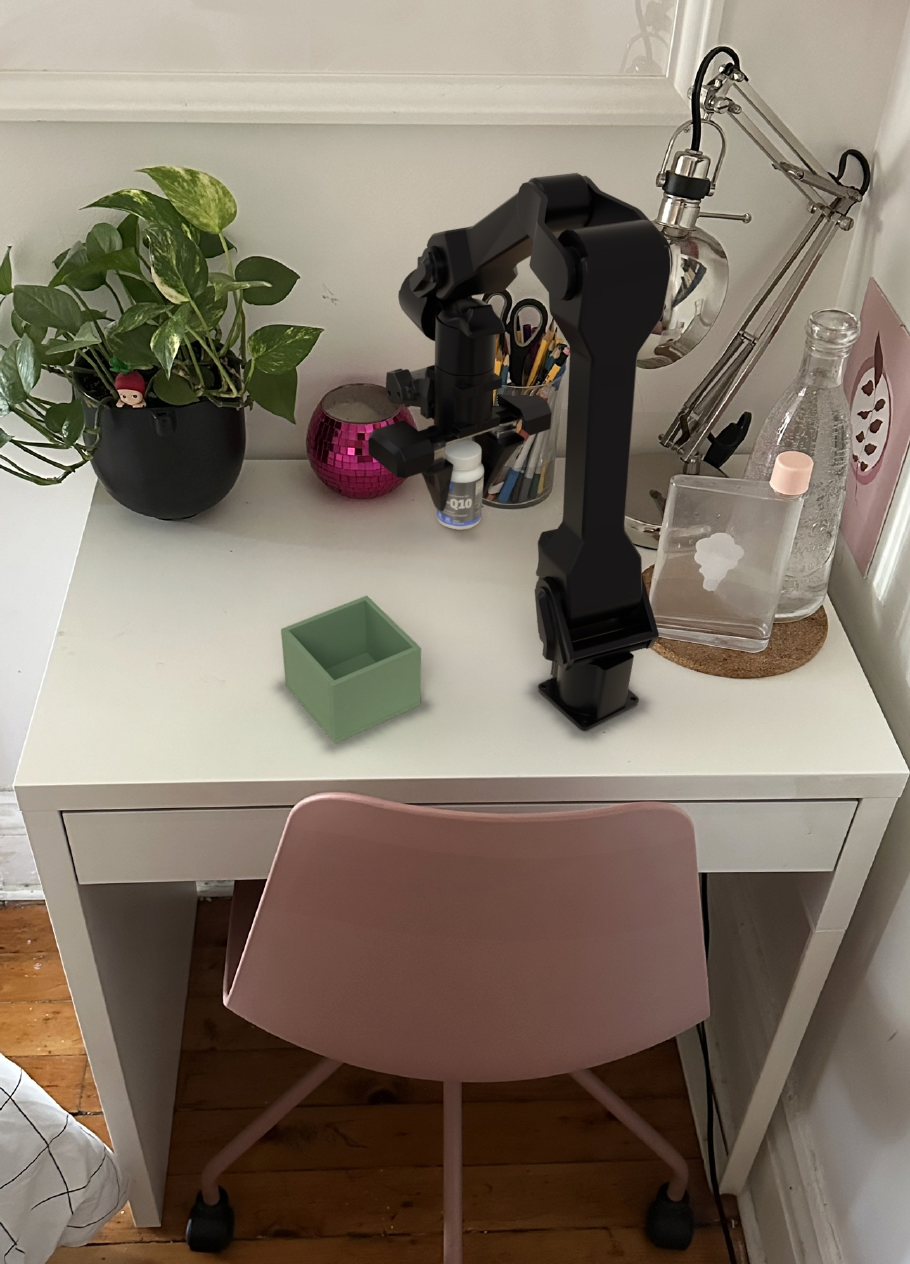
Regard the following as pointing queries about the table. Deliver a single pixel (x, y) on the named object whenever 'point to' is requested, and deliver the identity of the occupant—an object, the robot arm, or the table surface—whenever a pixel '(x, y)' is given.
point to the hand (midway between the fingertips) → (459, 501)
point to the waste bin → (351, 667)
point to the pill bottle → (463, 486)
